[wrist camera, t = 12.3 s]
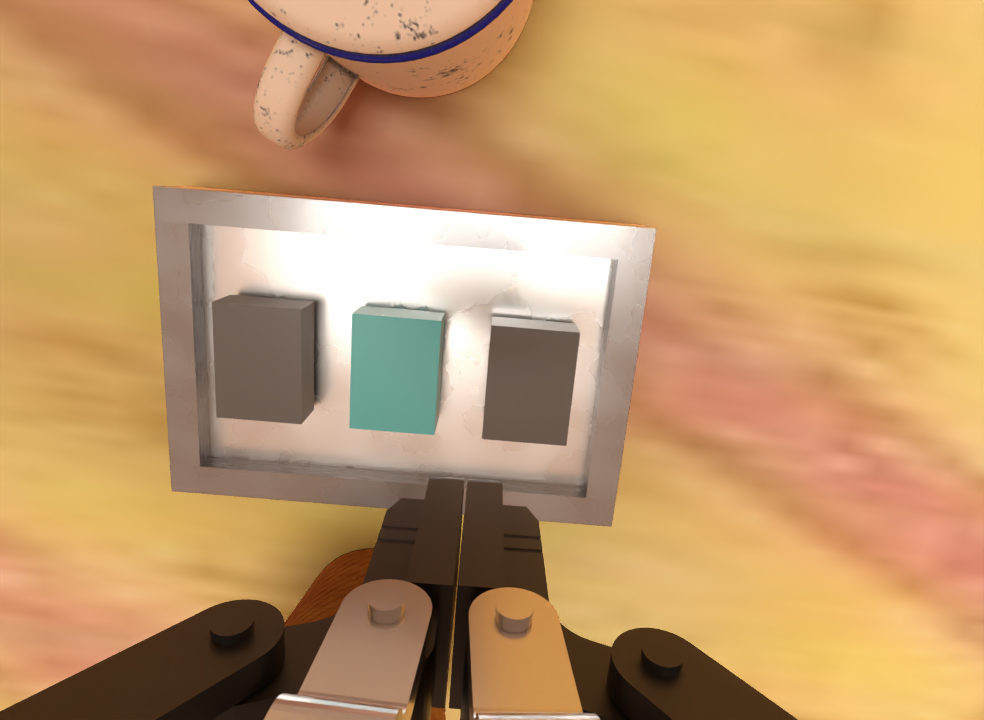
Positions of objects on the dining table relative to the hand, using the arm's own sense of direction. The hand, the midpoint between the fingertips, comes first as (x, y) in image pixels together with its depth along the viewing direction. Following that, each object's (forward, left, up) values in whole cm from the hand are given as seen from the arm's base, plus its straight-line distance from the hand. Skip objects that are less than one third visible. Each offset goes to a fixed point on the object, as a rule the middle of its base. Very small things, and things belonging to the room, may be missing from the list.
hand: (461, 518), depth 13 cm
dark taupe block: (0, +2, -11) cm, 11 cm away
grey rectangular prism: (0, -8, -11) cm, 14 cm away
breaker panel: (0, -3, -14) cm, 15 cm away
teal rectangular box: (0, -3, -11) cm, 12 cm away
